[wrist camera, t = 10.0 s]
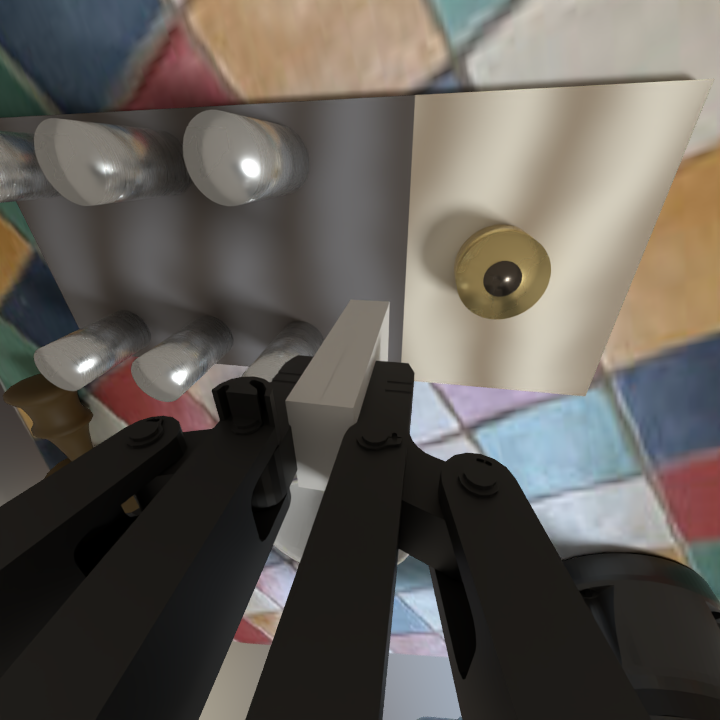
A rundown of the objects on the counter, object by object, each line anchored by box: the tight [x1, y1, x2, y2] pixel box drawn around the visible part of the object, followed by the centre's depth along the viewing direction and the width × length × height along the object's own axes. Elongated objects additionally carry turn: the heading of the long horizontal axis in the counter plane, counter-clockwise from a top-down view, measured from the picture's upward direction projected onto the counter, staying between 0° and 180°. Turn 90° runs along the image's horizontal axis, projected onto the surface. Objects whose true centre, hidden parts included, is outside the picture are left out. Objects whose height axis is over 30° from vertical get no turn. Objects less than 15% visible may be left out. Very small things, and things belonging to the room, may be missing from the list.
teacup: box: [273, 473, 409, 565], centre depth 27 cm, size 14×11×8 cm
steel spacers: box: [0, 110, 324, 402], centre depth 19 cm, size 17×14×6 cm
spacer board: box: [0, 79, 714, 396], centre depth 21 cm, size 38×16×1 cm, turn 91°
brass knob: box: [454, 224, 551, 320], centre depth 18 cm, size 4×4×2 cm
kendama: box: [3, 373, 139, 513], centre depth 34 cm, size 6×10×20 cm
